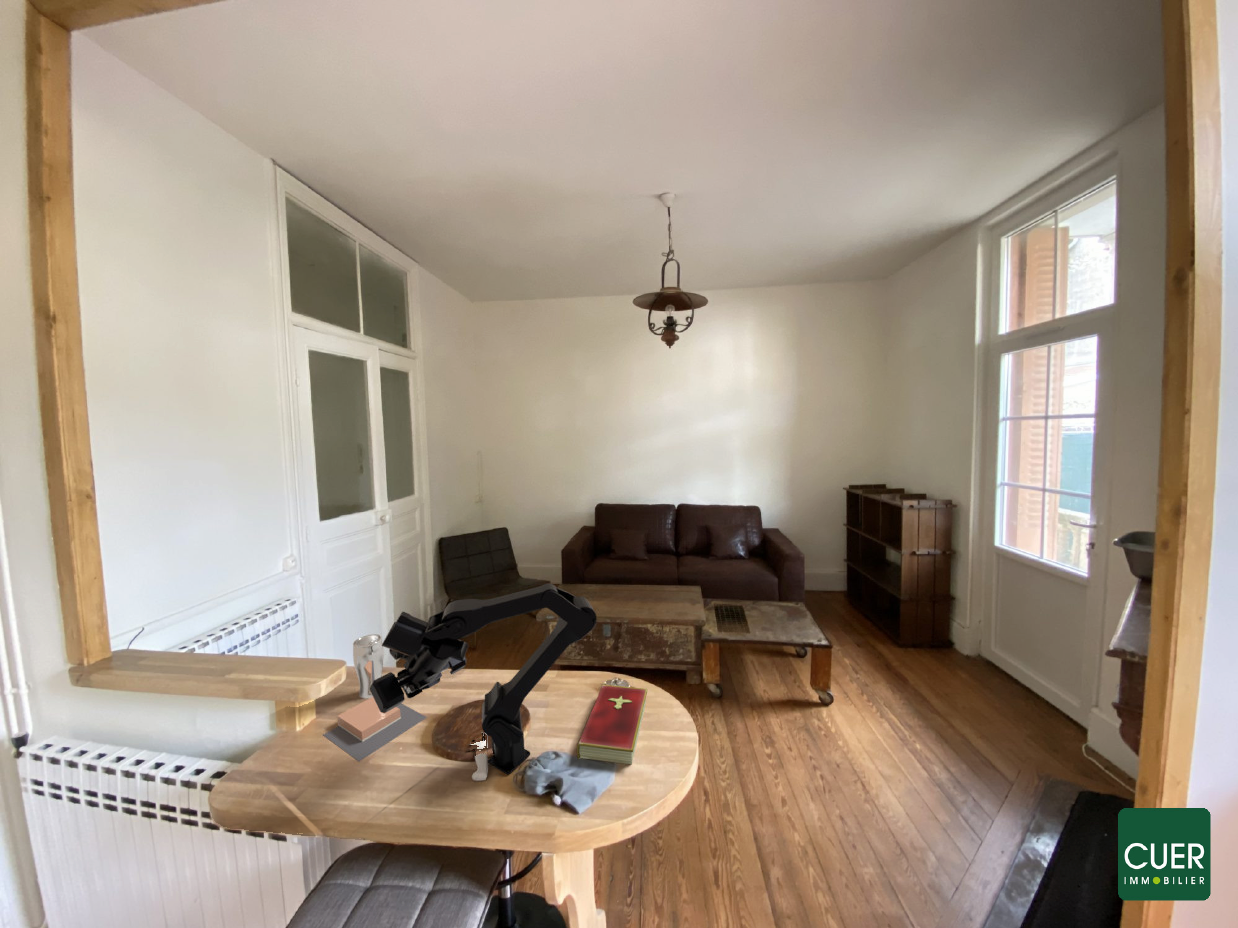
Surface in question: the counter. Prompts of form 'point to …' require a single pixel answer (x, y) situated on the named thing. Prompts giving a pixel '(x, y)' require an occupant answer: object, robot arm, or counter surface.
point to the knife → (481, 763)
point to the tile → (367, 719)
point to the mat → (379, 739)
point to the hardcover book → (613, 725)
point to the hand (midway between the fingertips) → (408, 691)
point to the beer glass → (368, 662)
